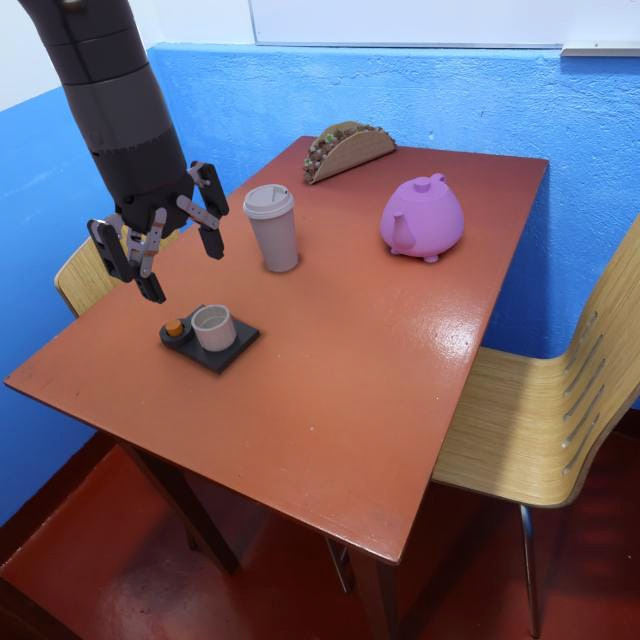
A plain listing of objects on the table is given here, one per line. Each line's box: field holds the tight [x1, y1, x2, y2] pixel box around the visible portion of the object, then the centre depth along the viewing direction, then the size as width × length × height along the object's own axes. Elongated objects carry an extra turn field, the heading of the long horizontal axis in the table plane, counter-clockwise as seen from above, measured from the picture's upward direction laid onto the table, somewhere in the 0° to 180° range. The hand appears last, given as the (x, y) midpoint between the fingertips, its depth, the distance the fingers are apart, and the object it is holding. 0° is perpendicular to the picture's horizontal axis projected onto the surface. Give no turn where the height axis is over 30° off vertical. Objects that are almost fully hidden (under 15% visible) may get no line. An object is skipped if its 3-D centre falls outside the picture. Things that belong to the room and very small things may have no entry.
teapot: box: [379, 172, 465, 263], centre depth 87 cm, size 22×16×14 cm
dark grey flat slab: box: [158, 303, 261, 376], centre depth 79 cm, size 11×14×3 cm
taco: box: [302, 120, 398, 185], centre depth 118 cm, size 10×27×10 cm, turn 121°
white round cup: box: [191, 303, 236, 352], centre depth 77 cm, size 6×6×5 cm
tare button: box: [165, 318, 184, 336], centre depth 79 cm, size 3×3×2 cm
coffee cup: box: [242, 183, 299, 273], centre depth 89 cm, size 10×10×15 cm
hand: (188, 277), depth 51 cm, fingers open, 8 cm apart
